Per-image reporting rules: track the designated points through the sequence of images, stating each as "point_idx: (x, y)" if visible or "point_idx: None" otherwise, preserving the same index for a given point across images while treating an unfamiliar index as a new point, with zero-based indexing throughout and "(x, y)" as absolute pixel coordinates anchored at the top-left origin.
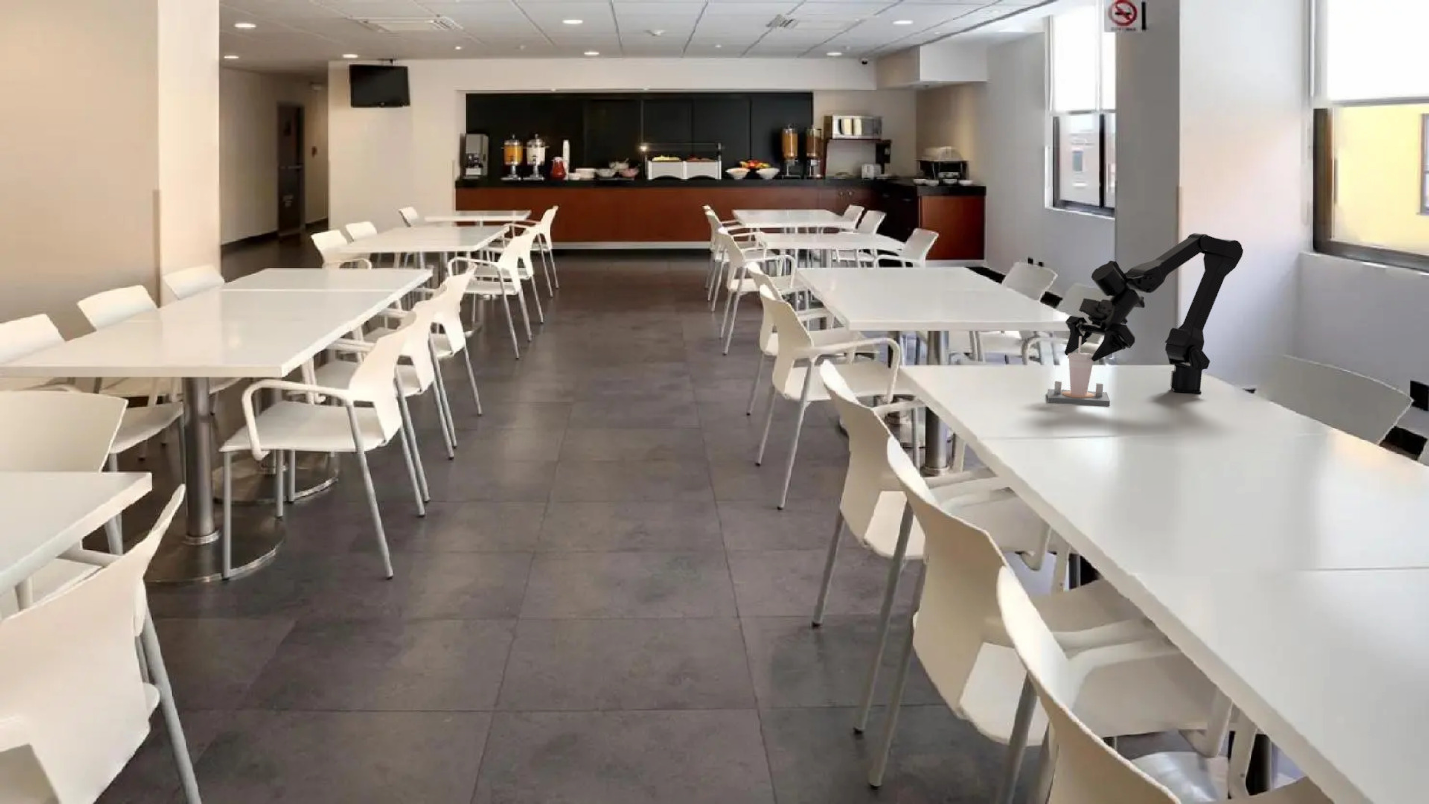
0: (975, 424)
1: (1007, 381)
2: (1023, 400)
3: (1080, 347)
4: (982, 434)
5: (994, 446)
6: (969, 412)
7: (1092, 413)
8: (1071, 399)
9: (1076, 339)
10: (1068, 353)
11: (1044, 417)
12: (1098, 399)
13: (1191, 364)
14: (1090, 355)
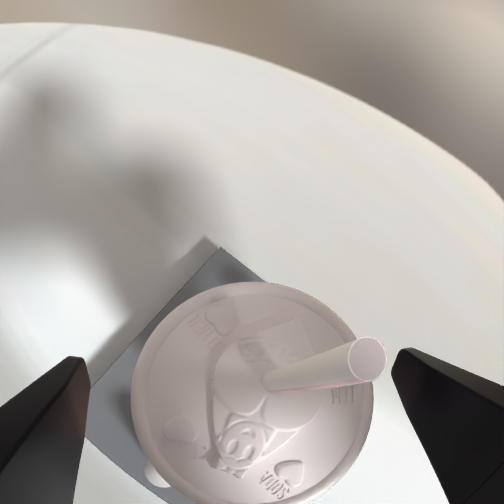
0: (129, 36)
1: (495, 345)
2: (277, 210)
3: (283, 379)
4: (84, 27)
5: (43, 25)
6: (206, 59)
7: (24, 262)
8: (162, 309)
9: (494, 458)
10: (400, 379)
11: (79, 126)
12: (106, 402)
13: None
14: (200, 458)
